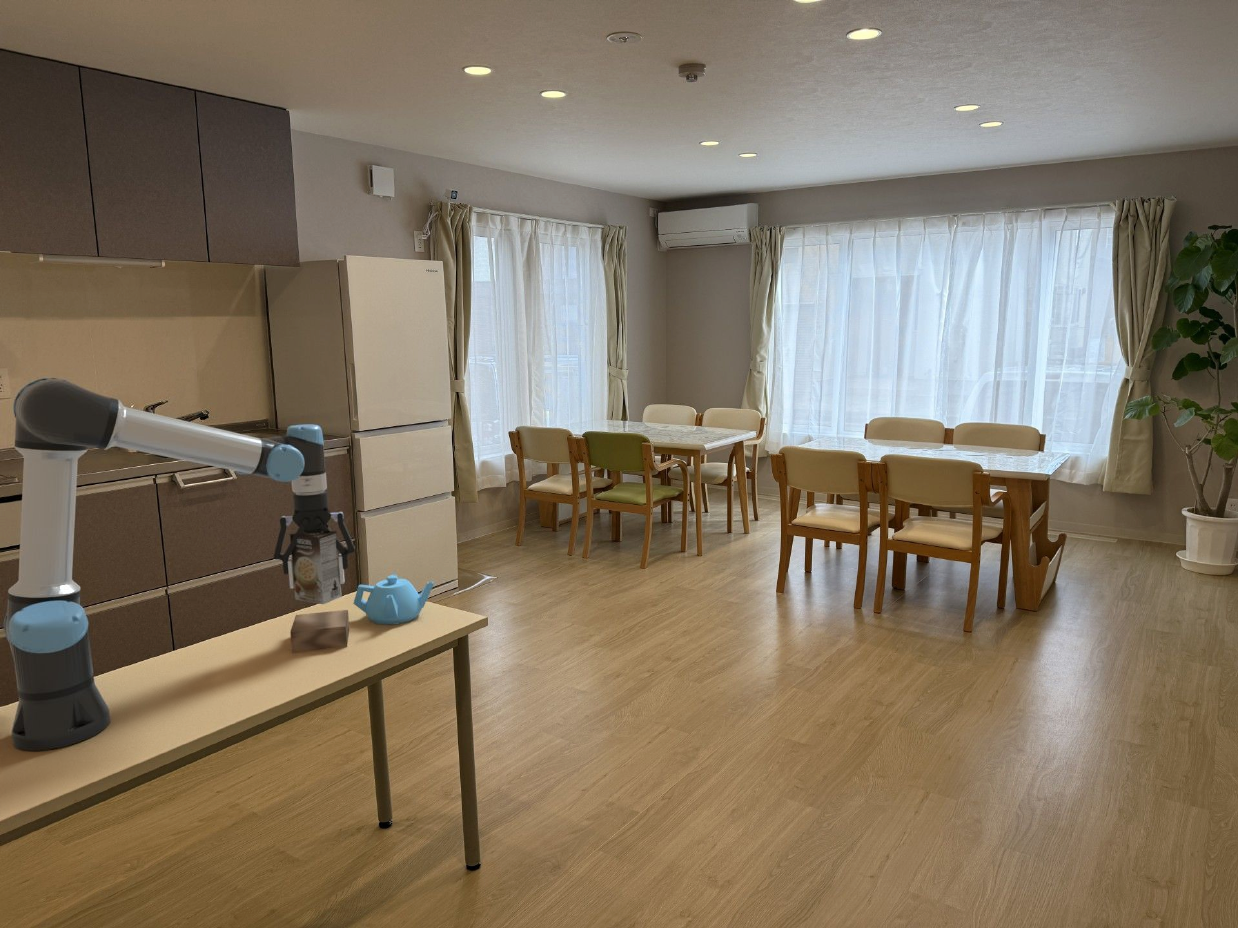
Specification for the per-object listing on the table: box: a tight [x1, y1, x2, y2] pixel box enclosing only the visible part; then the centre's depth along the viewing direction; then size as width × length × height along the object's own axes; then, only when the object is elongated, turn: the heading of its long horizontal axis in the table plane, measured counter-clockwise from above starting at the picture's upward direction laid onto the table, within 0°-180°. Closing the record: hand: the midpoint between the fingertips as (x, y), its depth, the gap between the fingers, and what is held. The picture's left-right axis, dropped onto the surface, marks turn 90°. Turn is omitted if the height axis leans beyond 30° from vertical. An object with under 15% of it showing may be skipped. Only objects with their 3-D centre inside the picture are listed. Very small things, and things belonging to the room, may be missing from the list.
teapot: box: [352, 573, 434, 626], centre depth 214 cm, size 15×15×11 cm
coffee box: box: [289, 530, 342, 605], centre depth 196 cm, size 9×6×16 cm
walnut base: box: [289, 609, 350, 654], centre depth 199 cm, size 12×12×5 cm
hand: (317, 584), depth 197 cm, fingers closed on coffee box, 10 cm apart
